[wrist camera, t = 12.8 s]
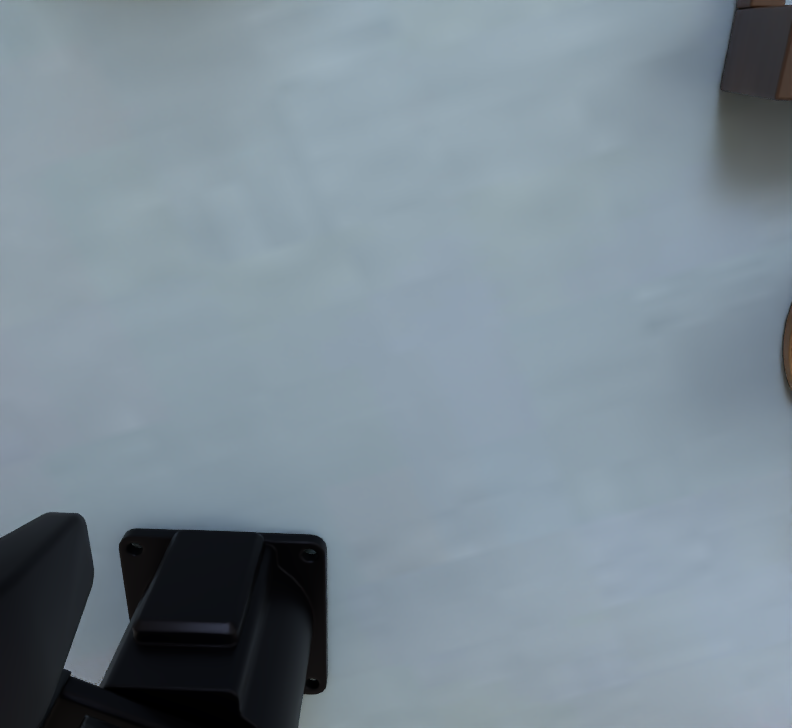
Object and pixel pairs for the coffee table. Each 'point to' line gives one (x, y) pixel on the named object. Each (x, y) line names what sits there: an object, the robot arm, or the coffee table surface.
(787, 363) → the coaster
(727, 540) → the coffee table surface
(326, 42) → the coffee table surface
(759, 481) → the coffee table surface
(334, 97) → the coffee table surface
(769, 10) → the holder
